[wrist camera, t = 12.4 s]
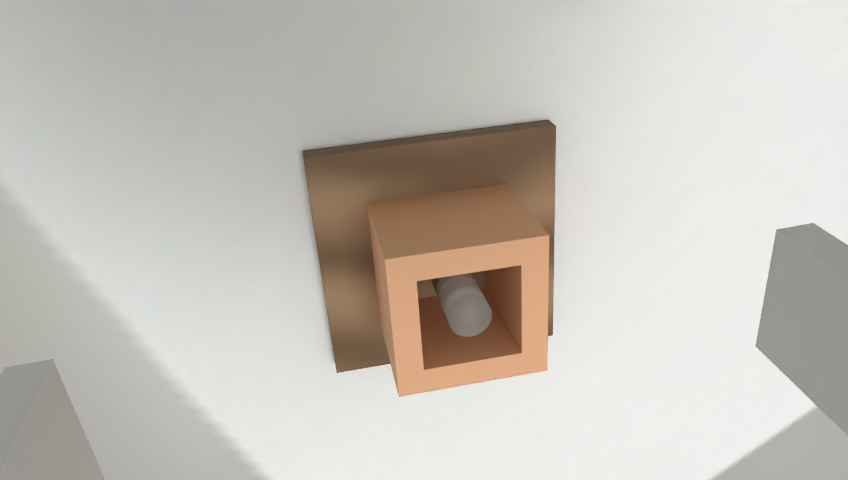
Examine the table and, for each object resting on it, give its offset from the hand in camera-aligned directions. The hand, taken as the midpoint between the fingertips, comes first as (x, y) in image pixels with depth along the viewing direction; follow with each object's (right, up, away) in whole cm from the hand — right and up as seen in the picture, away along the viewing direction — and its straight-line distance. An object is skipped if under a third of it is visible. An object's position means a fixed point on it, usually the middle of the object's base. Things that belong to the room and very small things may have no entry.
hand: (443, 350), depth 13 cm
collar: (+1, +1, +28) cm, 28 cm away
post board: (0, +2, +29) cm, 29 cm away
